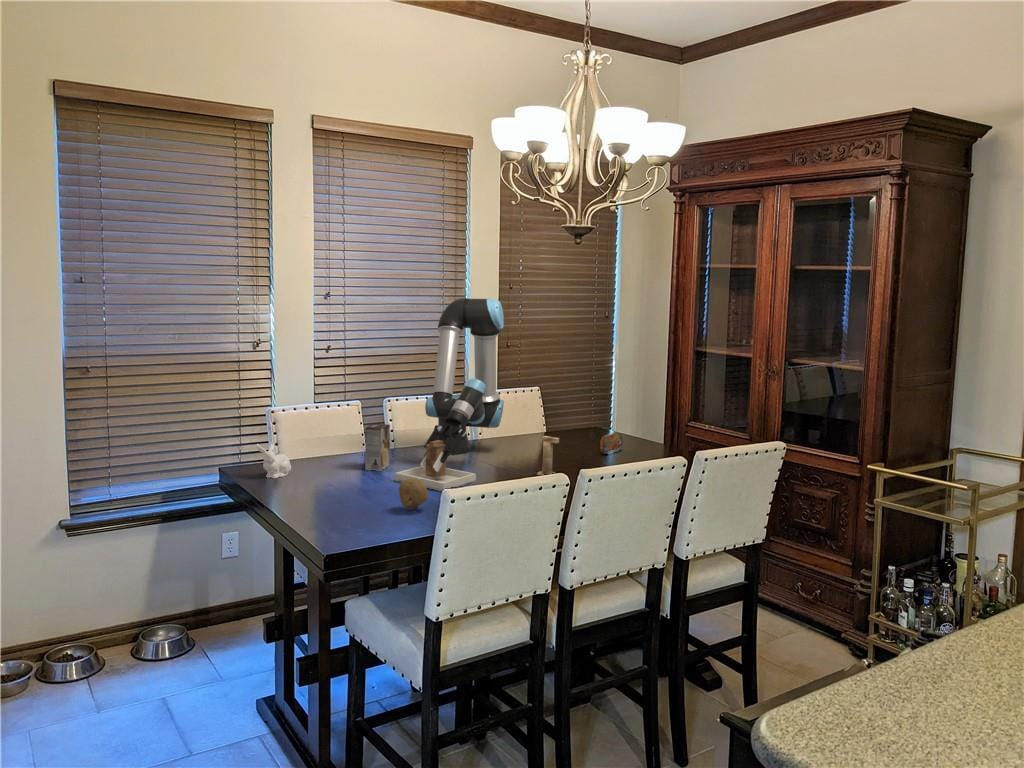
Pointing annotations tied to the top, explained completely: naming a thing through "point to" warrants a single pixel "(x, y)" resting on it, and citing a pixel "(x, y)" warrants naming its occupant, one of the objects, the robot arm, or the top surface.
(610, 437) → the tin
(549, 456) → the oak post
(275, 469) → the rabbit
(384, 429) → the coffee box
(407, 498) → the natural sponge
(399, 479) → the tray
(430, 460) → the brown upright block
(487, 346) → the robot arm
